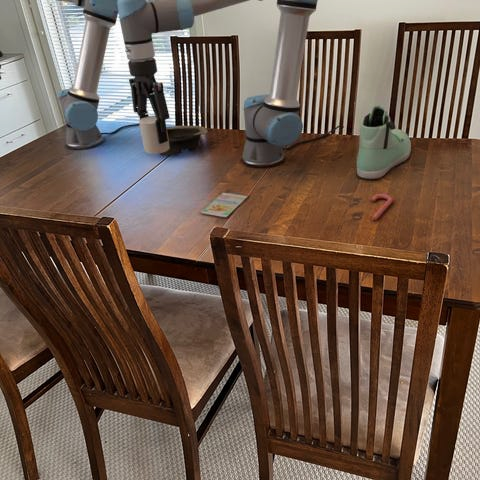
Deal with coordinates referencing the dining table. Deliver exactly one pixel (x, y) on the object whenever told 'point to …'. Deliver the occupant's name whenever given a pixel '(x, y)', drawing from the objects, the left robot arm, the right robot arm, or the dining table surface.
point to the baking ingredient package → (224, 204)
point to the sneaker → (380, 145)
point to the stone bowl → (183, 139)
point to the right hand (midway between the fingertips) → (155, 139)
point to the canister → (152, 136)
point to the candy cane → (385, 206)
